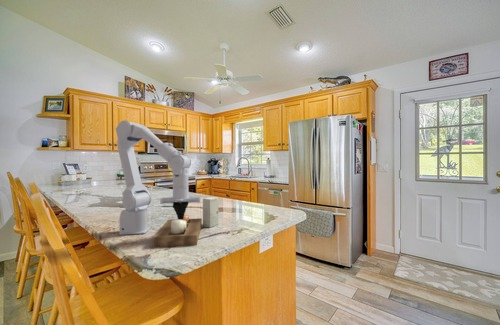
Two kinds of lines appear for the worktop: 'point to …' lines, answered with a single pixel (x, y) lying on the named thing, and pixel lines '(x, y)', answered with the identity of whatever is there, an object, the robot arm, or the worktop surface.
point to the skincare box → (210, 211)
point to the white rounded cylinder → (177, 226)
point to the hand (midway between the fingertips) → (180, 221)
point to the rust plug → (186, 218)
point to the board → (185, 238)
